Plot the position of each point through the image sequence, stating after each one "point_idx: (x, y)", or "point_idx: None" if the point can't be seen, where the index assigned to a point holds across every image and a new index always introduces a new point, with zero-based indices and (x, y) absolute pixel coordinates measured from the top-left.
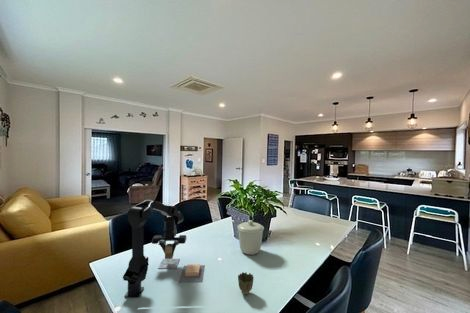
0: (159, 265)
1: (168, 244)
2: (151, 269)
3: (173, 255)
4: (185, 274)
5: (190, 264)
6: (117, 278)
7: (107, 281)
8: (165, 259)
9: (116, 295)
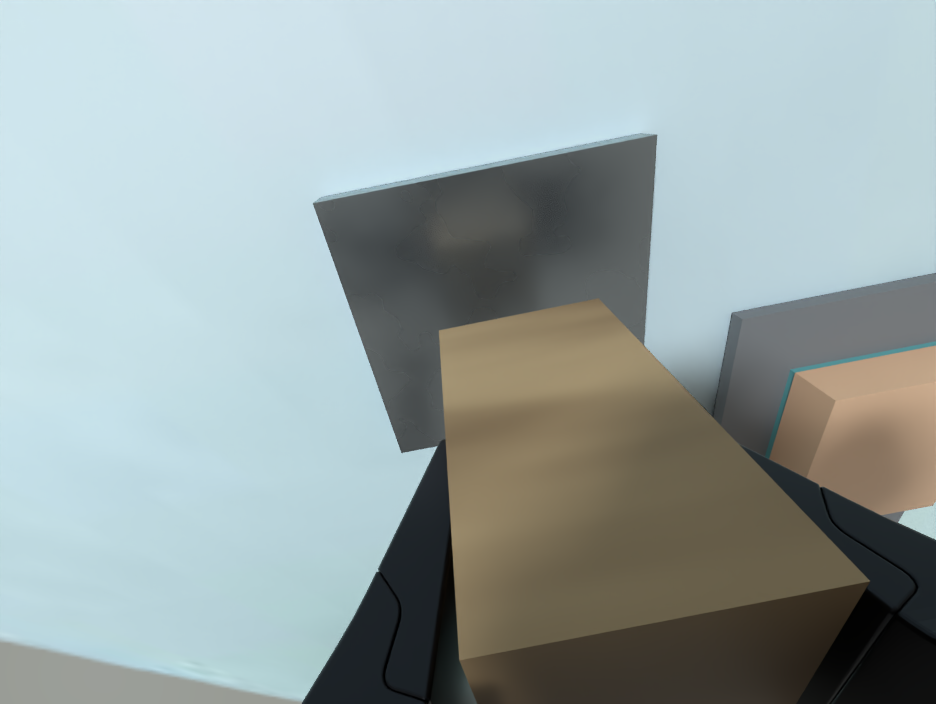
0: (386, 402)
1: (581, 683)
2: (315, 442)
3: (599, 305)
4: None
5: (875, 397)
6: (102, 602)
7: (65, 637)
8: (376, 214)
9: (303, 685)
